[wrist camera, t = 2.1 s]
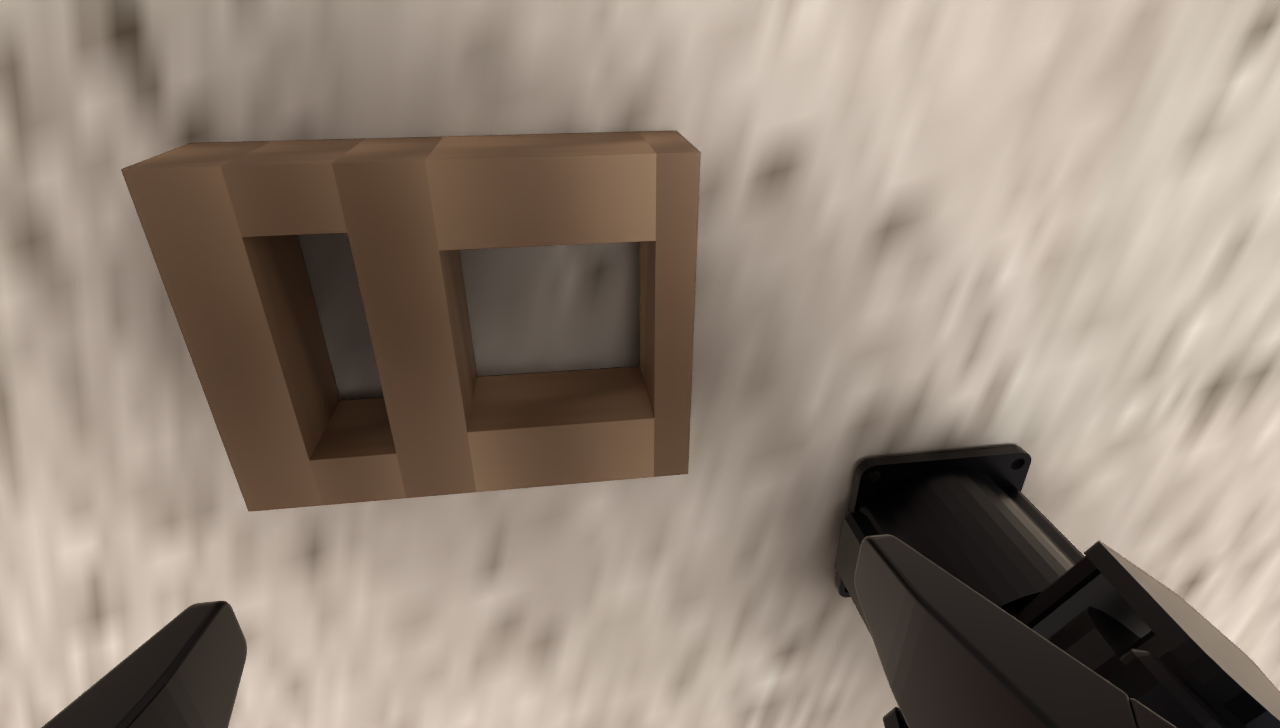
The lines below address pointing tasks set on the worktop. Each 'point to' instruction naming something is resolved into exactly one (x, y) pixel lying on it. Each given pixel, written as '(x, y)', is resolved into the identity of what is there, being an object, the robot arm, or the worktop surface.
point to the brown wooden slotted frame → (421, 307)
